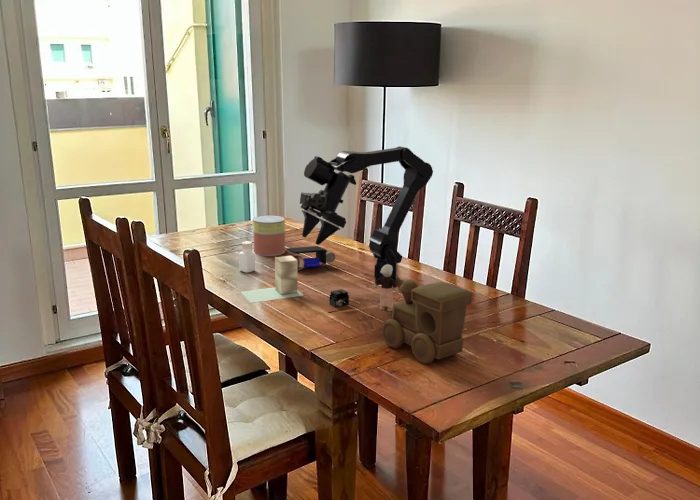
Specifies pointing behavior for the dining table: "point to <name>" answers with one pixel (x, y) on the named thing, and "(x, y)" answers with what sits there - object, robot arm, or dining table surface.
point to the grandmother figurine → (386, 288)
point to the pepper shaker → (247, 258)
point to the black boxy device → (339, 298)
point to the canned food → (269, 235)
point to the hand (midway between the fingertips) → (310, 240)
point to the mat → (266, 295)
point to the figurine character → (321, 257)
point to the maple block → (286, 275)
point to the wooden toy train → (428, 320)
